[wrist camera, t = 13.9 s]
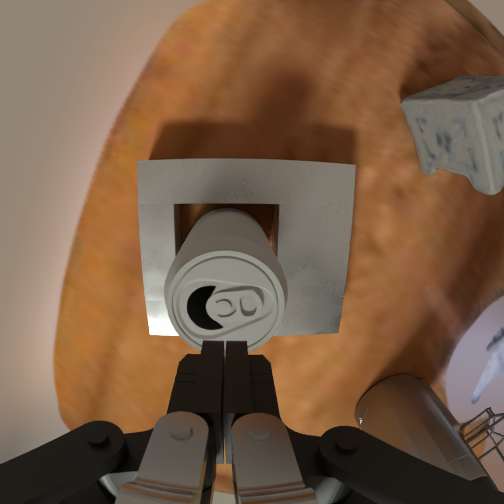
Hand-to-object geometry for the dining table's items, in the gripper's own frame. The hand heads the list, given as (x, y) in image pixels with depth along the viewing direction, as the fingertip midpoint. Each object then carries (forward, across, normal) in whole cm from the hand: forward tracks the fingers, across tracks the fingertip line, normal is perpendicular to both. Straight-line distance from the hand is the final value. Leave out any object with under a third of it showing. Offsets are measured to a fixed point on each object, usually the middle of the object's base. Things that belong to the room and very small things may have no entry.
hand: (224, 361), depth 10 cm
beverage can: (+16, 0, 0) cm, 16 cm away
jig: (+16, -1, 0) cm, 16 cm away
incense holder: (+17, -20, -12) cm, 29 cm away
